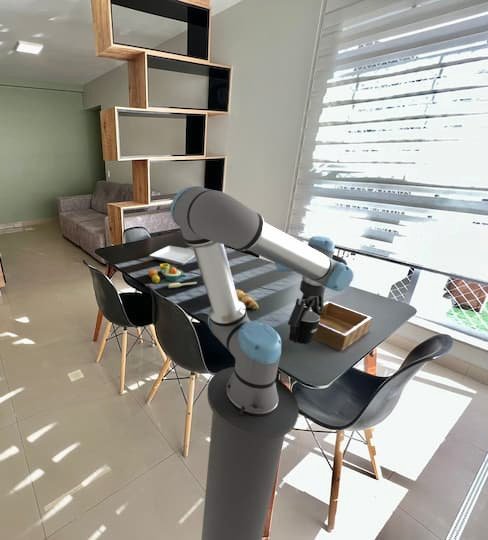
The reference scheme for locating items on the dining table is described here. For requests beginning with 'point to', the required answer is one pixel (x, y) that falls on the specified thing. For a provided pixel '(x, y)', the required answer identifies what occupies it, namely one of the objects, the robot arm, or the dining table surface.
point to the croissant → (246, 300)
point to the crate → (341, 326)
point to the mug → (308, 327)
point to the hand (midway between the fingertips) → (302, 334)
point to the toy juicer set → (169, 275)
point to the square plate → (174, 255)
